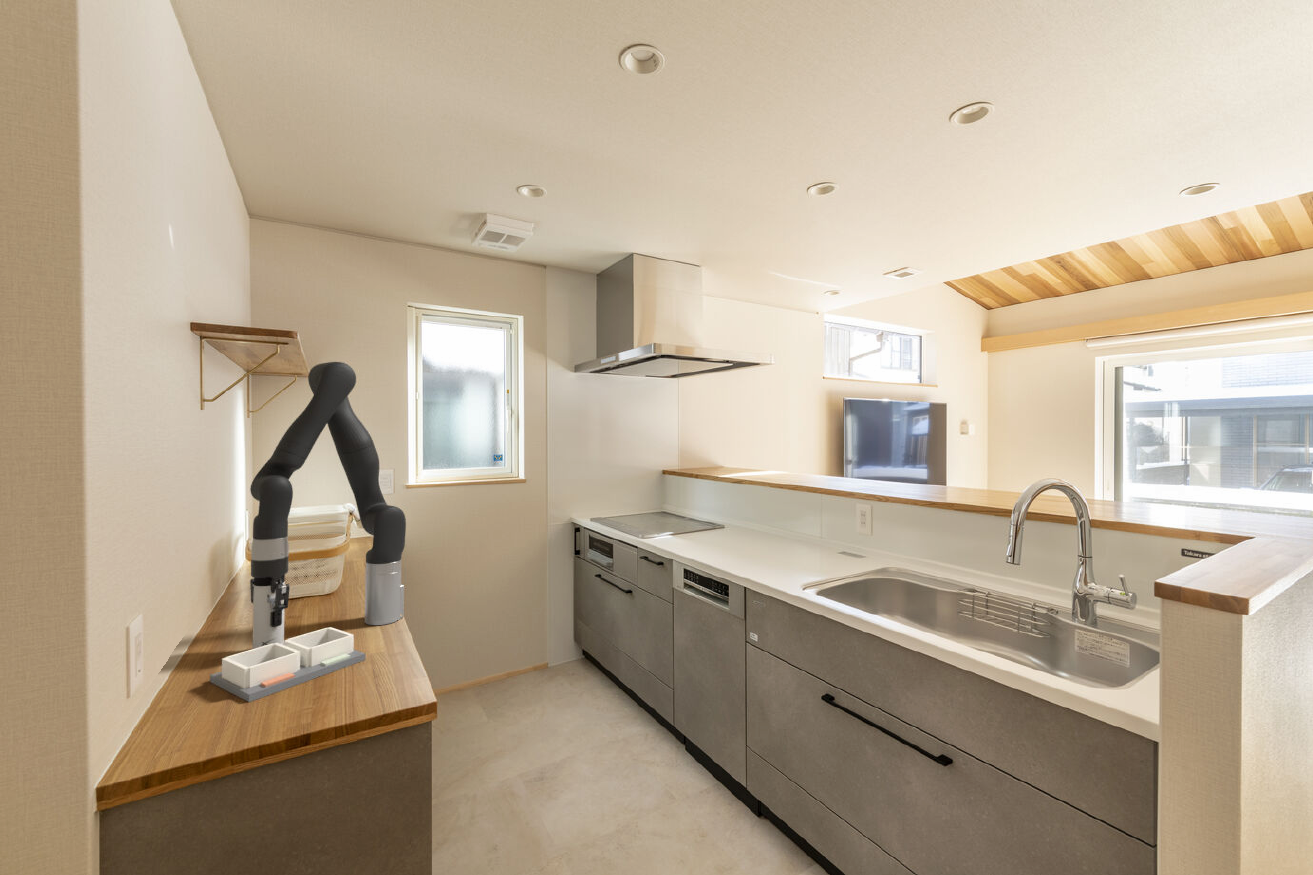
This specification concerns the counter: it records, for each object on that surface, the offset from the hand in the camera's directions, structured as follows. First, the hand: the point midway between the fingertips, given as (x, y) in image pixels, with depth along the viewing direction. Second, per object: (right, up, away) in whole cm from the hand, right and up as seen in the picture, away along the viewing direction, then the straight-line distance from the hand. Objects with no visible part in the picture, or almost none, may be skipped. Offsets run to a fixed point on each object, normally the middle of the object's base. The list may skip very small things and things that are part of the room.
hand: (268, 623), depth 132 cm
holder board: (+13, -7, -11) cm, 18 cm away
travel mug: (0, -7, 0) cm, 7 cm away
